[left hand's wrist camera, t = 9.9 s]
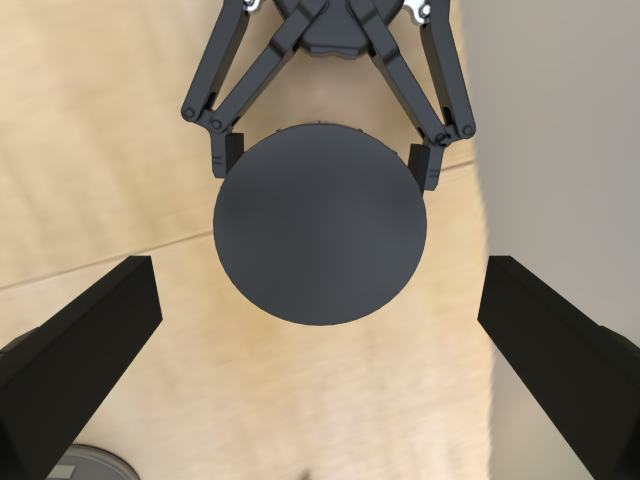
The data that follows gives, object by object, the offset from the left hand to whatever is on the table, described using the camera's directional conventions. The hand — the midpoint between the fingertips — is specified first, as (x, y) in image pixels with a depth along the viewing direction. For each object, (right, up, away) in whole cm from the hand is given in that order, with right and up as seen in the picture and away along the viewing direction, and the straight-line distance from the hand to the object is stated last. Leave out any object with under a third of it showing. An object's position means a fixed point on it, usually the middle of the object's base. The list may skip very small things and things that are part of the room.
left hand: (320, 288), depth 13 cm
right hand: (0, +3, +15) cm, 15 cm away
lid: (0, +2, +6) cm, 6 cm away
